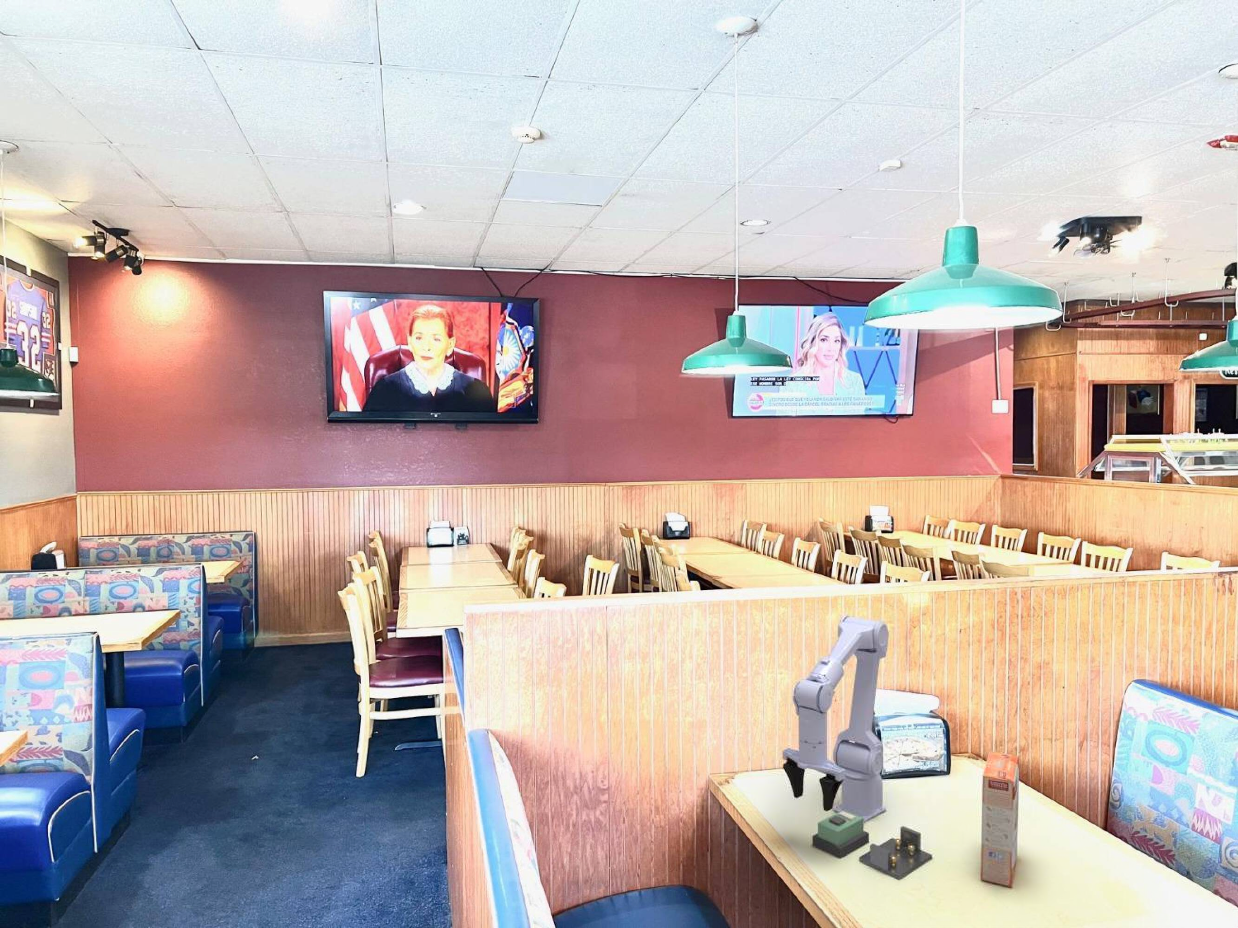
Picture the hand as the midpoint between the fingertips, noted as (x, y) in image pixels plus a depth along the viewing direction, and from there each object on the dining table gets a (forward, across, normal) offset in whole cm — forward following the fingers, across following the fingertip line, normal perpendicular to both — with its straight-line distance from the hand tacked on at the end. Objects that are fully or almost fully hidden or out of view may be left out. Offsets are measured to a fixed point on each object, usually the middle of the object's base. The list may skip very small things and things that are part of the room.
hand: (813, 802), depth 168 cm
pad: (+10, +3, +6) cm, 11 cm away
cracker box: (+10, +29, +22) cm, 37 cm away
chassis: (+10, +14, +9) cm, 19 cm away
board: (+8, +3, +6) cm, 10 cm away
